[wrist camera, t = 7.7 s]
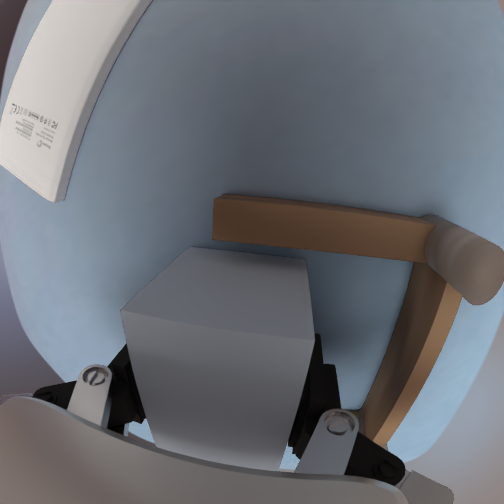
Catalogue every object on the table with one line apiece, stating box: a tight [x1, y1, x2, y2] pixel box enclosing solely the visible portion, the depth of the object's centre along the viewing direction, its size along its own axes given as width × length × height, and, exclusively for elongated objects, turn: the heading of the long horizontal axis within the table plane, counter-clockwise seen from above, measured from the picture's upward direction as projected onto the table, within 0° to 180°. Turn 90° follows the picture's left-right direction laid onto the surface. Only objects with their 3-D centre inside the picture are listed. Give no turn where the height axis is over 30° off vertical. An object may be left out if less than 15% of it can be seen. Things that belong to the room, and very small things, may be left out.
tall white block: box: [120, 247, 315, 471], centre depth 11 cm, size 8×5×6 cm, turn 176°
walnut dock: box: [213, 194, 504, 451], centre depth 11 cm, size 14×10×4 cm
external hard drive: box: [0, 0, 152, 203], centre depth 10 cm, size 2×8×12 cm
